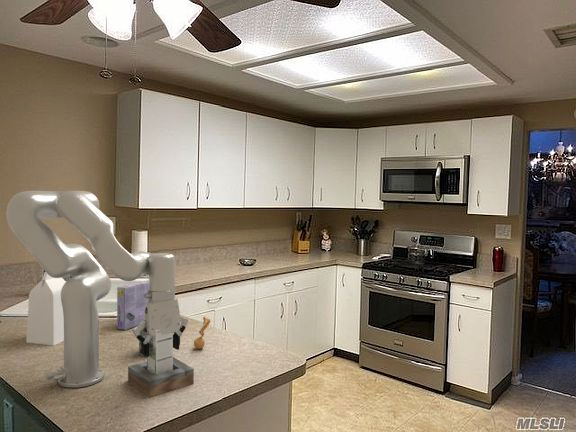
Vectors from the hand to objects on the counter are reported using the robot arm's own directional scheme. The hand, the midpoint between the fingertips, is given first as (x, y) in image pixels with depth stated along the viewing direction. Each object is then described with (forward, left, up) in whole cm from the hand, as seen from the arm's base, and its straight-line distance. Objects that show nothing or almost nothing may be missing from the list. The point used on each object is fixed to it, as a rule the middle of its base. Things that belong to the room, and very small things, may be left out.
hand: (161, 352), depth 132 cm
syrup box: (0, 0, -6) cm, 6 cm away
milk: (-13, +62, -10) cm, 64 cm away
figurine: (+25, +17, -9) cm, 32 cm away
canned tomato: (+9, +25, -9) cm, 28 cm away
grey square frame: (0, 0, -9) cm, 9 cm away
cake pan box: (+20, +60, -10) cm, 64 cm away
